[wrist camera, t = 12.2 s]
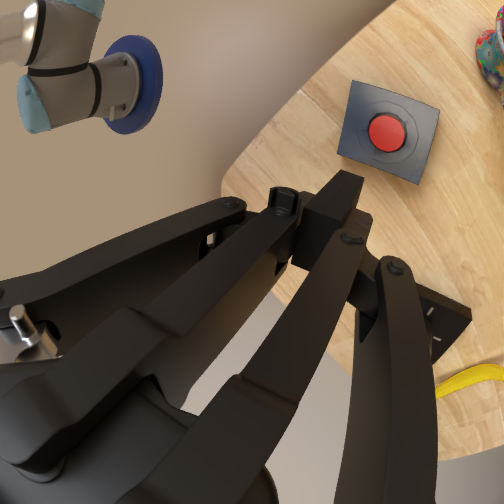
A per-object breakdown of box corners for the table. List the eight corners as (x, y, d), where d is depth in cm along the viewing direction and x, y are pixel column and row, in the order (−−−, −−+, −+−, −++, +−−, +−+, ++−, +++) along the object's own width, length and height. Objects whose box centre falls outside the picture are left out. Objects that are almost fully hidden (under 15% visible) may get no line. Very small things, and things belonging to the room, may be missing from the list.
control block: (340, 151, 30) (332, 156, 27) (355, 81, 25) (348, 78, 22) (417, 180, 27) (419, 189, 24) (437, 110, 21) (442, 110, 19)
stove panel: (375, 328, 40) (372, 340, 38) (406, 278, 33) (405, 289, 31) (433, 353, 36) (432, 365, 34) (470, 308, 29) (472, 320, 27)
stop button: (367, 142, 25) (365, 144, 24) (374, 110, 23) (373, 110, 21) (399, 154, 24) (399, 156, 22) (407, 122, 22) (408, 123, 20)
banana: (421, 379, 39) (416, 406, 34) (512, 347, 26) (516, 376, 22) (425, 387, 39) (420, 414, 35) (513, 357, 26) (516, 386, 22)
